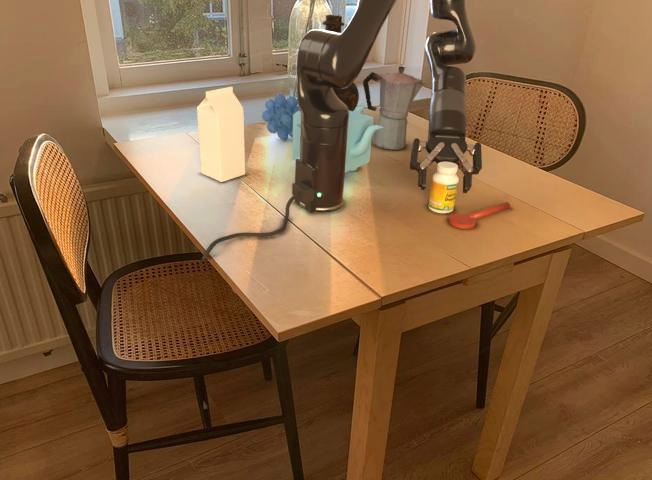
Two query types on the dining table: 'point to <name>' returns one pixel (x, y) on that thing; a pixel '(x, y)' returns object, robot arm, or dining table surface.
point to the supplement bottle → (444, 188)
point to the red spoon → (474, 216)
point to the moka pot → (393, 106)
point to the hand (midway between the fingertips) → (444, 190)
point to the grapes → (280, 115)
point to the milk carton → (221, 135)
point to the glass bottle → (351, 92)
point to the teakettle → (356, 138)
